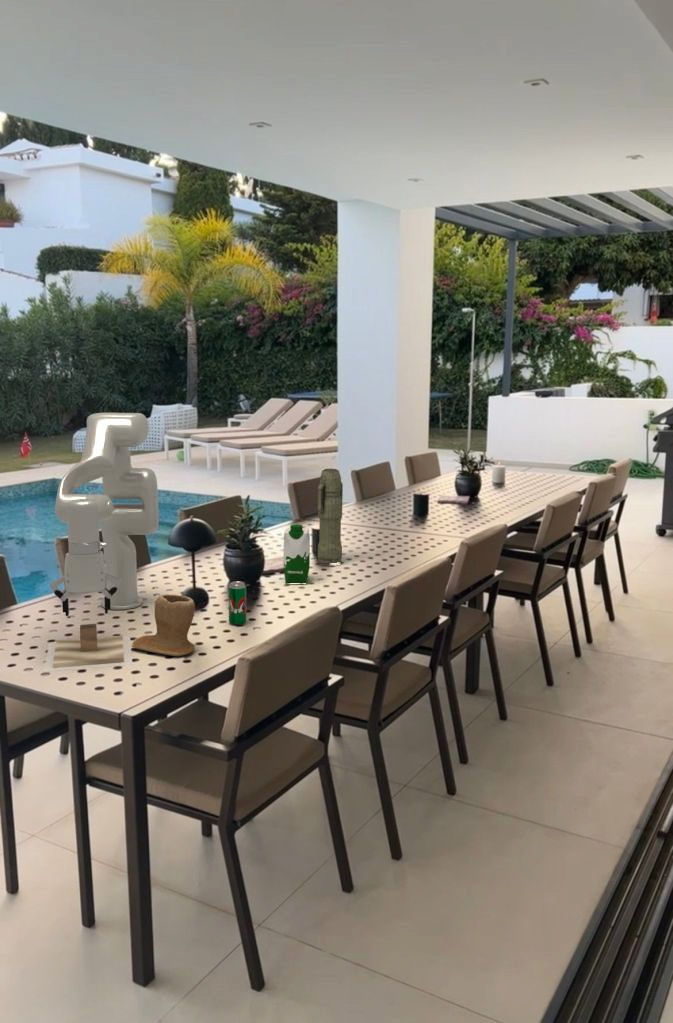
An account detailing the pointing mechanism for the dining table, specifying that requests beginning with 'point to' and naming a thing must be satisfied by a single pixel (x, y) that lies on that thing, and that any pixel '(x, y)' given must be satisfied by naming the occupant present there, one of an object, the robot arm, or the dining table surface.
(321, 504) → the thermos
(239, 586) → the soda can
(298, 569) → the milk carton
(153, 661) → the dining table surface
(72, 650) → the birch lid
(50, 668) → the grey mat
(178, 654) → the brown boot-shaped piece
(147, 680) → the dining table surface
